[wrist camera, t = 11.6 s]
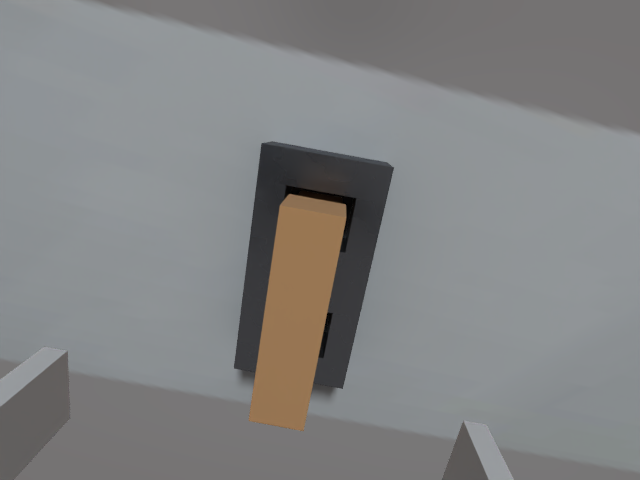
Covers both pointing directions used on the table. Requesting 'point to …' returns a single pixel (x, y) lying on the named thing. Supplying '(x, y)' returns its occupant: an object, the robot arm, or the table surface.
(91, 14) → the table surface
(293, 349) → the notched wooden block
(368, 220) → the slotted gray block
